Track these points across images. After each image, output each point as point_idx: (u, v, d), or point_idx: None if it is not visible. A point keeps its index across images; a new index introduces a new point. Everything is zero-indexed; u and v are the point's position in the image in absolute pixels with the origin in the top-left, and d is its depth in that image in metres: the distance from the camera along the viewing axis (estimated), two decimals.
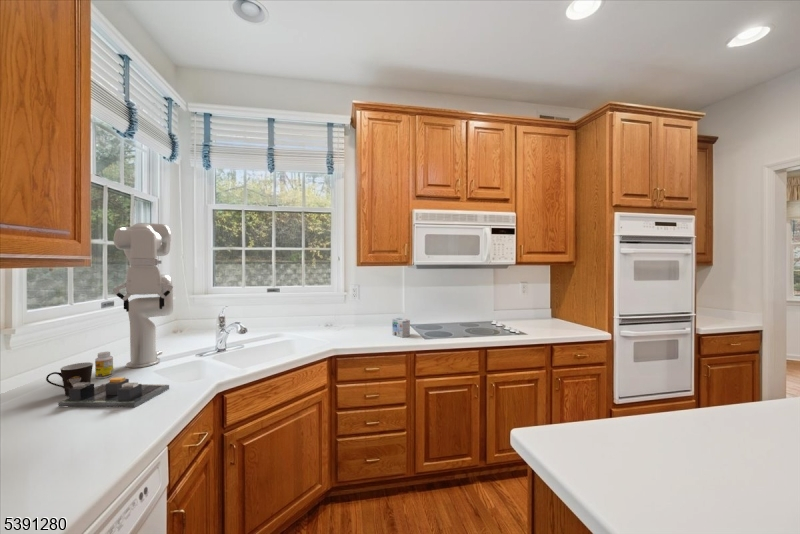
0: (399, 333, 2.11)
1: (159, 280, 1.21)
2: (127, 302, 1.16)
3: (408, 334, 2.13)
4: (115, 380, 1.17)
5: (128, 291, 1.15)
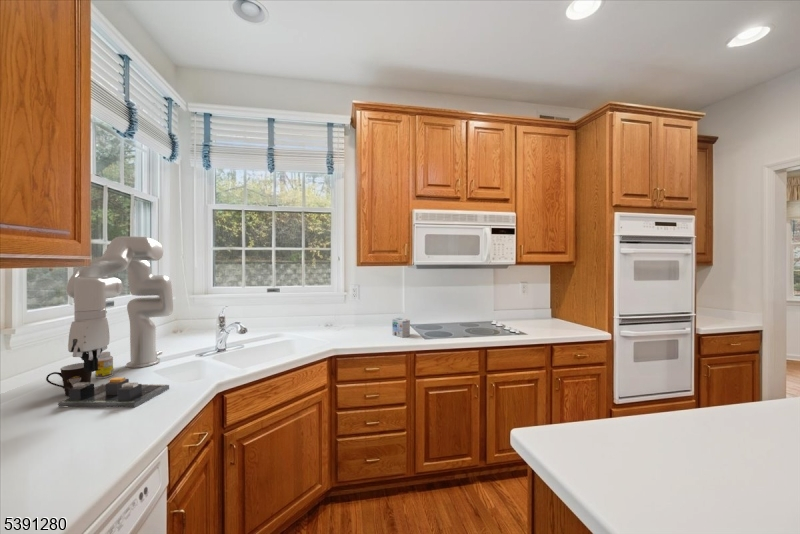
0: (399, 333, 2.11)
1: (108, 332, 1.12)
2: (94, 361, 1.07)
3: (408, 334, 2.13)
4: (115, 380, 1.17)
5: (83, 349, 1.03)
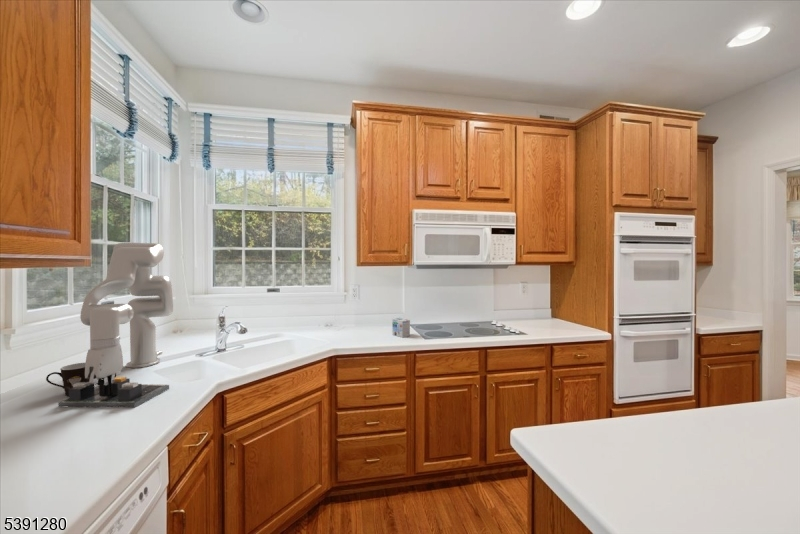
0: (399, 333, 2.11)
1: (122, 357, 1.17)
2: (109, 386, 1.13)
3: (408, 334, 2.13)
4: (116, 380, 1.17)
5: (98, 376, 1.08)
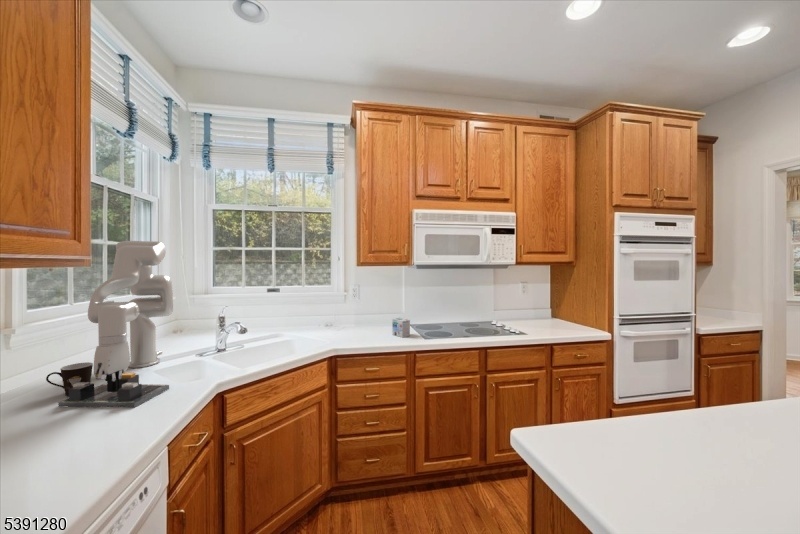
0: (399, 333, 2.11)
1: (129, 354, 1.20)
2: (116, 382, 1.16)
3: (408, 334, 2.13)
4: (126, 376, 1.21)
5: (107, 371, 1.11)
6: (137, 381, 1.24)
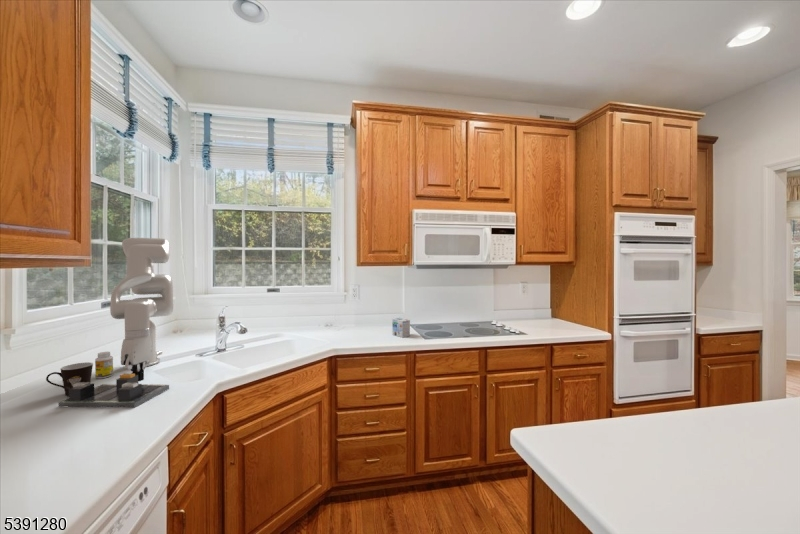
0: (399, 333, 2.11)
1: (151, 346, 1.31)
2: (141, 372, 1.26)
3: (408, 334, 2.13)
4: (125, 376, 1.21)
5: (133, 362, 1.22)
6: (136, 381, 1.24)
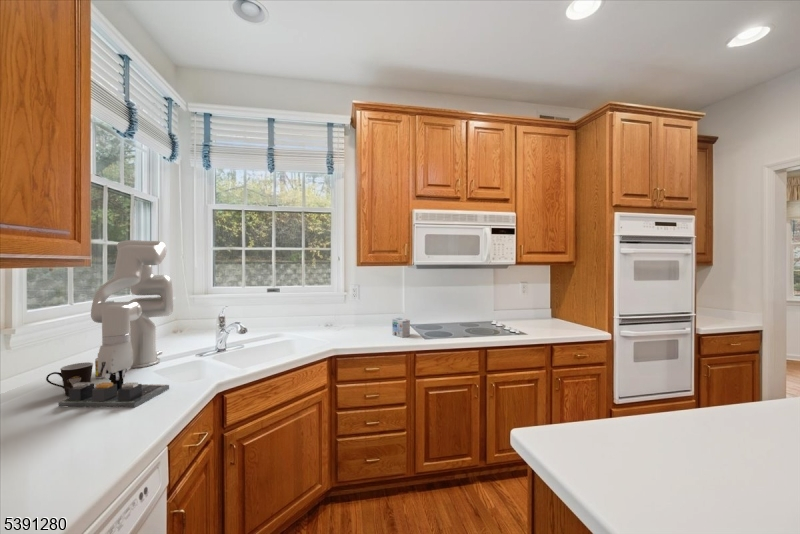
0: (399, 333, 2.11)
1: (132, 353, 1.22)
2: (120, 381, 1.17)
3: (408, 334, 2.13)
4: (102, 385, 1.12)
5: (111, 371, 1.13)
6: (115, 391, 1.15)
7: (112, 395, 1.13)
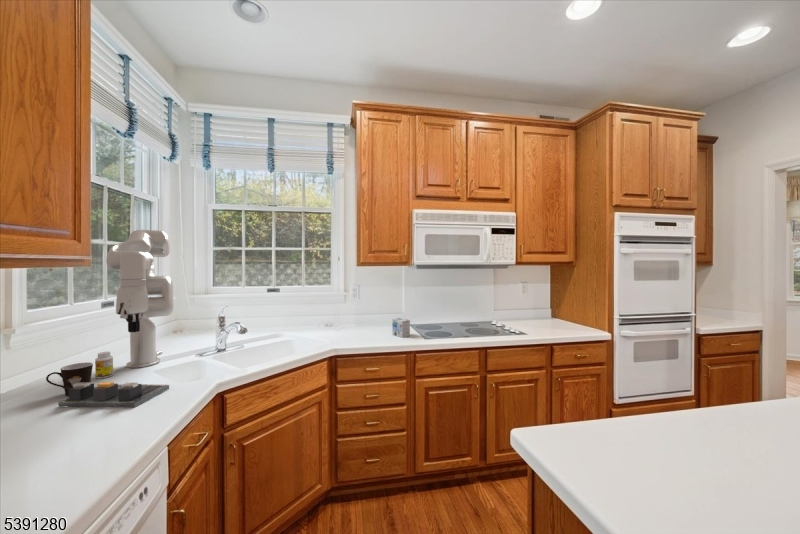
0: (399, 333, 2.11)
1: (147, 299, 1.29)
2: (136, 323, 1.24)
3: (408, 334, 2.13)
4: (103, 385, 1.12)
5: (128, 311, 1.20)
6: (116, 391, 1.15)
7: (113, 395, 1.14)
